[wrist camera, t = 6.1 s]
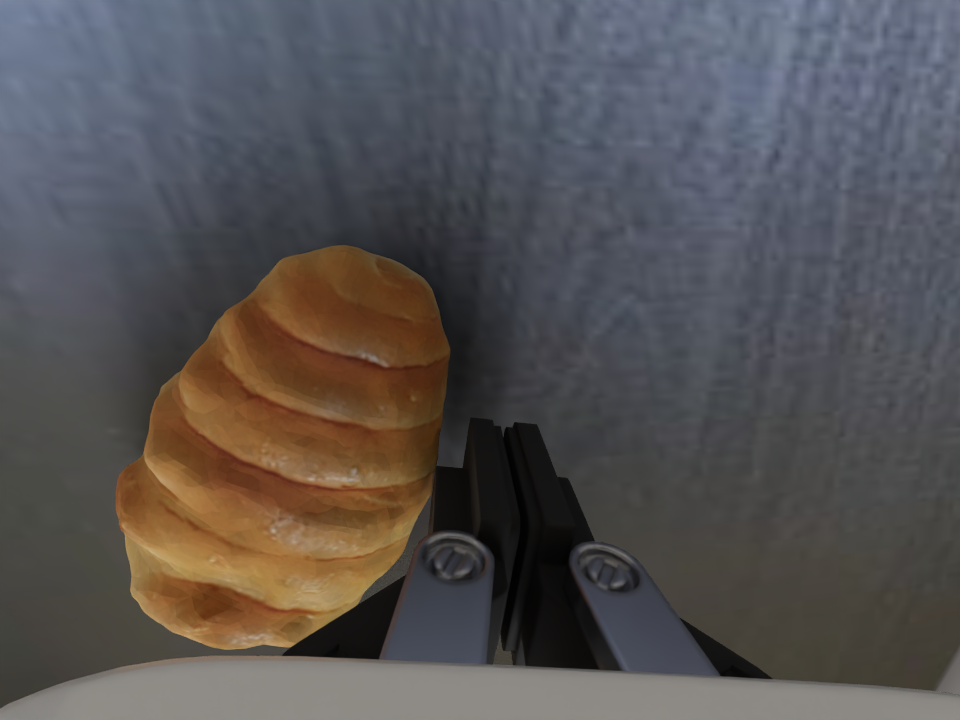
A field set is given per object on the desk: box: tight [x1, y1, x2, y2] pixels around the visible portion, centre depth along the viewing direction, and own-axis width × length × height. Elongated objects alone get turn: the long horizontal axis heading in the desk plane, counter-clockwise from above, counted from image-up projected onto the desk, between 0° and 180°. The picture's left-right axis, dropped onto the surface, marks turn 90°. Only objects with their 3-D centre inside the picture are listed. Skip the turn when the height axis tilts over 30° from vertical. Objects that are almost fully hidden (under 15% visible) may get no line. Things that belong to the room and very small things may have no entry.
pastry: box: [115, 245, 451, 650], centre depth 11 cm, size 9×7×4 cm
